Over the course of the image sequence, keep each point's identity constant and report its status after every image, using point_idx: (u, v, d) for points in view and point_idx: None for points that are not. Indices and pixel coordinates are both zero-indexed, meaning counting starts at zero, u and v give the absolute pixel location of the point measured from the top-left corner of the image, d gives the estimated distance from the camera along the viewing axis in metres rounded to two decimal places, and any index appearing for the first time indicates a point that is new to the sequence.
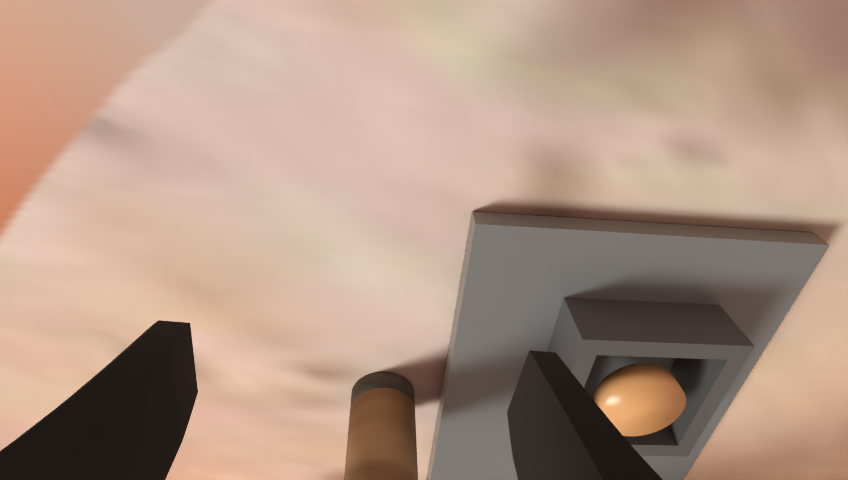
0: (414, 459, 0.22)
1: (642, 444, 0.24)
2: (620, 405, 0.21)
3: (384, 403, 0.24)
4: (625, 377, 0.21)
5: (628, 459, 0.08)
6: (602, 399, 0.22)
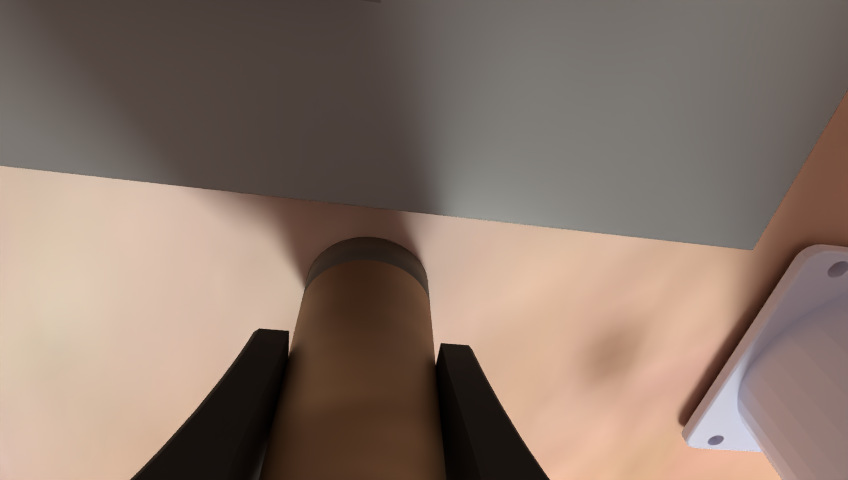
0: (324, 367, 0.09)
1: None
2: None
3: None
4: None
5: (513, 453, 0.08)
6: None
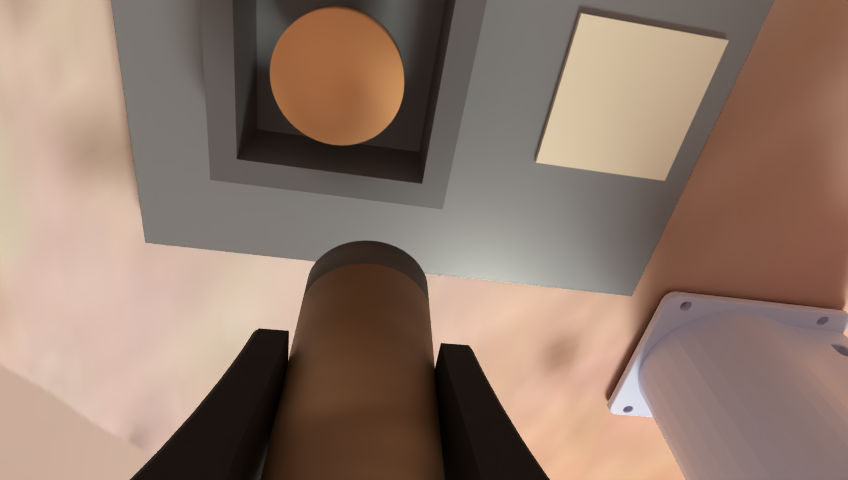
0: (322, 372, 0.09)
1: (445, 56, 0.14)
2: (326, 120, 0.14)
3: None
4: None
5: (513, 453, 0.08)
6: (327, 139, 0.15)
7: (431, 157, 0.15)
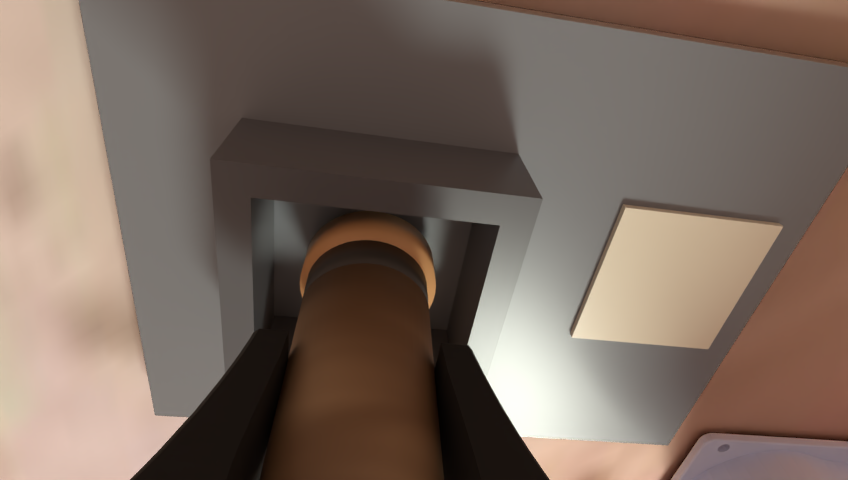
0: (321, 372, 0.09)
1: (483, 284, 0.13)
2: None
3: None
4: None
5: (513, 453, 0.08)
6: None
7: None
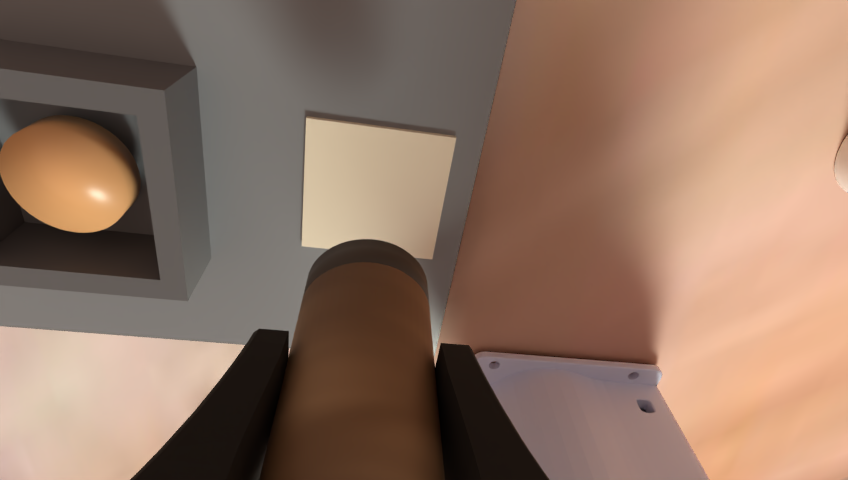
0: (321, 371, 0.09)
1: (145, 173, 0.15)
2: (64, 213, 0.16)
3: None
4: None
5: (513, 453, 0.08)
6: (74, 226, 0.17)
7: (161, 258, 0.16)
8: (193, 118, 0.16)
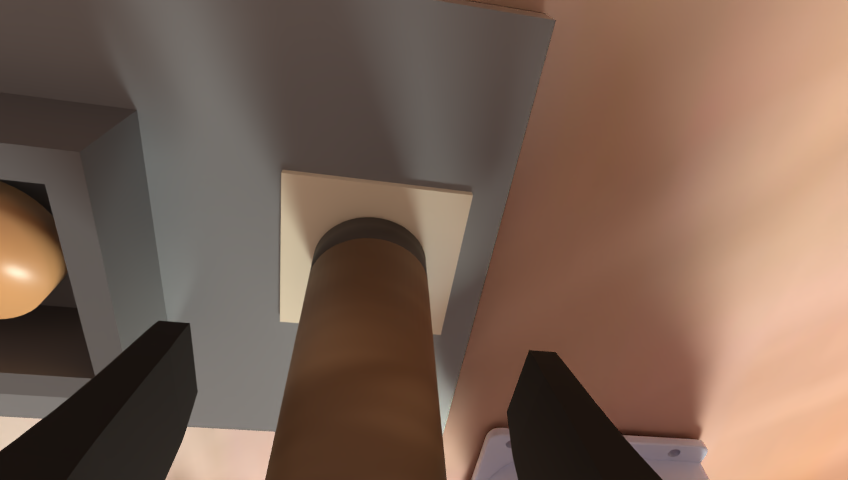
0: (330, 333, 0.10)
1: (65, 255, 0.11)
2: None
3: None
4: None
5: (628, 459, 0.08)
6: None
7: (94, 354, 0.13)
8: (134, 176, 0.12)
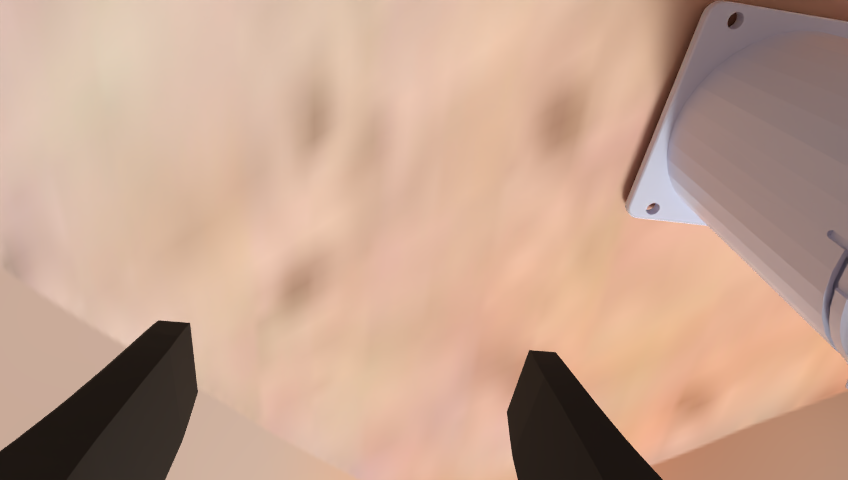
0: None
1: None
2: None
3: None
4: None
5: (628, 459, 0.08)
6: None
7: None
8: None
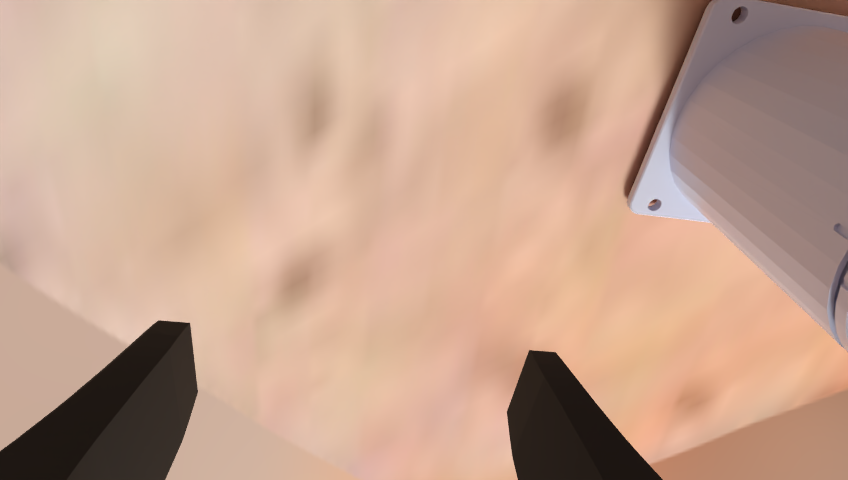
0: None
1: None
2: None
3: None
4: None
5: (628, 459, 0.08)
6: None
7: None
8: None
